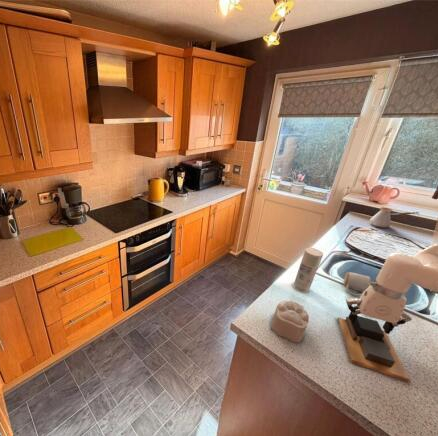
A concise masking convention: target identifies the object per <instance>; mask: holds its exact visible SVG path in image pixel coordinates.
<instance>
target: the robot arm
mask: <svg viewBox="0 0 438 436" xmlns="http://www.w3.org/2000/svg"><path fill="white" fill-rule="evenodd" d="M368 284H369V285H370V286H369V287H368V288H367V289H366V290H365V291H364V293H363V294H362V295H361V296H359V298H351V299H350V298H349V299H348V298H347V299H345V302H346V303H345V304H346V306H347V308H348V310H349V311H350V312H349V314H348V316H347V317H348V318H349V319H350V321H351V323H352V324H354V323H355V321H356V319H357V317H358V316H359V315H360V314H361V315H363V316H365V317H370V318H373V319H375V320H376V319H377V320H380V321H384V324H383V325H382V330H383V331H385V333H386V334H387V335H390V333H391V332H393V330H394V328H395V327H399V325H400V326H401V325H404V324H405V325H406V323H408V322H410V321H412V320H413V318H412V317H411V316H410V315H409V314H408V313H407V312H404V311H405V308H406V304H407V298H406V294H407V293H408V291H409V290H410V289H411V287H412V285H415V286H418V287H421V288H424V289H426V290H429V291H432V292H435V293H438V243H435V244H433V245H430V246H429V247H427V248H424V249H423V250H420V251H419V252H416V253H415V254H414V255H413V256H410V255H407V254H405V253H404V254H403V253H397V252H396V253H391V254H389V255H387V258H386V259H385V261H384V263H383V265H382V267H381V268H380V271H379V273H378V275H377V276H376V278H375V279H374V280H373V281H371V280H370V281H369V283H368ZM353 305H354V306H353Z"/></svg>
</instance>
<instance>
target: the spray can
mask: <svg viewBox="0 0 438 436" xmlns="http://www.w3.org/2000/svg"><path fill="white" fill-rule="evenodd" d="M323 256H324V253H323V252H322V251H321V250H319V249H317V248H315V247H305V249H304V252H303V254H302V258H301V261H300V264H299V267H298V270H297V274H296V276H295V279H294V282H293V287H294V289H295V290H297V291H298V292H301V293H308V292H309V291H310V289H311V286H312V284H313V282H314V279H315V276H316V274H317V271H318V268H319V267H320V264H321V261H322V259H323Z"/></svg>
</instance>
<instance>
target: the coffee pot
mask: <svg viewBox="0 0 438 436" xmlns="http://www.w3.org/2000/svg"><path fill="white" fill-rule="evenodd" d="M391 212H393V209H392V208H389V207H381V206H380V208H379V211H378V212H376V213H375V214H374V215H373V216H372V217H371V218H370V219H369V222H370V224H371V225H372V226H373V227H377V228H383V229H385V228H388V227H391V226H392V218H391V216H396V215H415V214H417V215H418V216H420V212H417V211H416V212H395V213H391Z"/></svg>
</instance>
